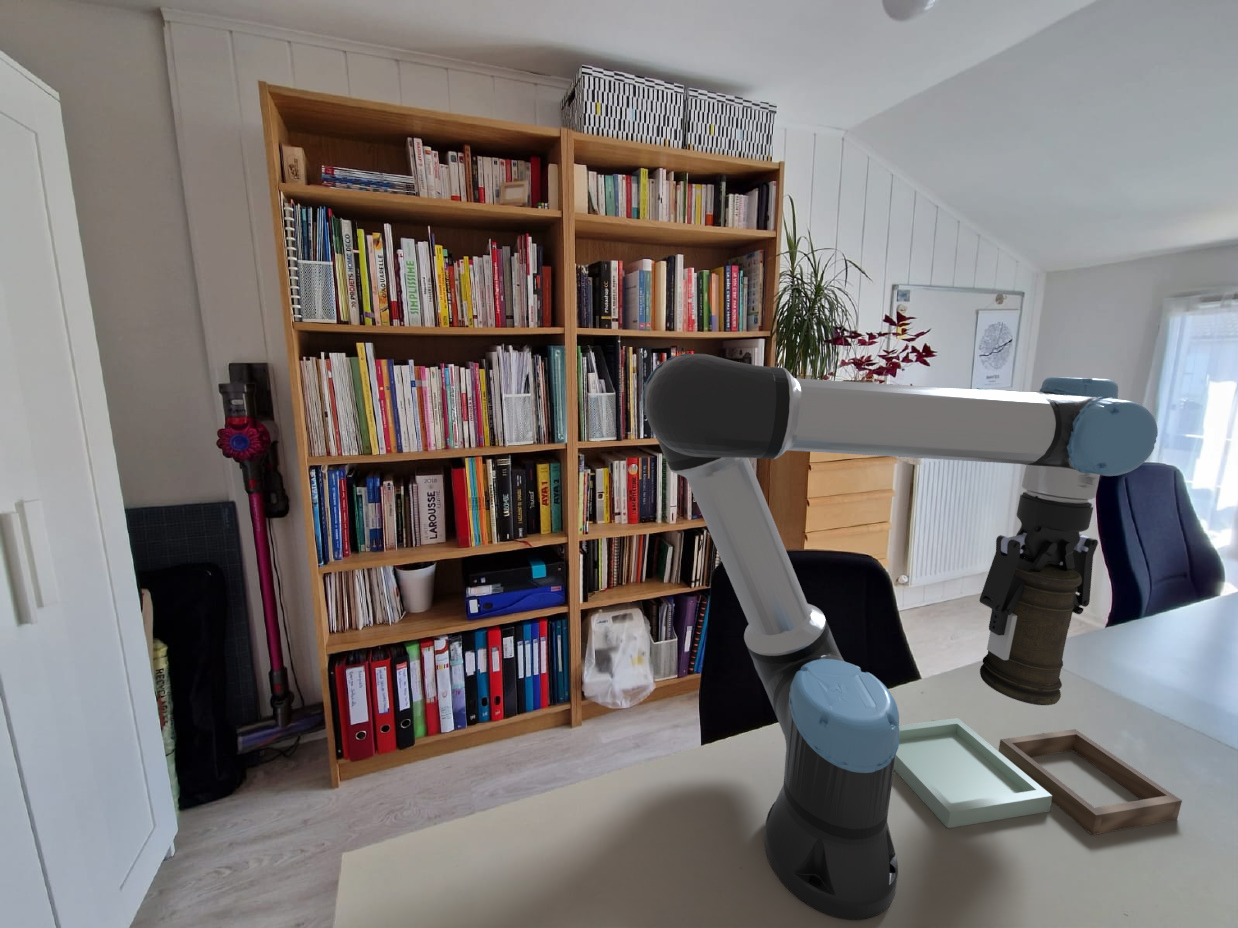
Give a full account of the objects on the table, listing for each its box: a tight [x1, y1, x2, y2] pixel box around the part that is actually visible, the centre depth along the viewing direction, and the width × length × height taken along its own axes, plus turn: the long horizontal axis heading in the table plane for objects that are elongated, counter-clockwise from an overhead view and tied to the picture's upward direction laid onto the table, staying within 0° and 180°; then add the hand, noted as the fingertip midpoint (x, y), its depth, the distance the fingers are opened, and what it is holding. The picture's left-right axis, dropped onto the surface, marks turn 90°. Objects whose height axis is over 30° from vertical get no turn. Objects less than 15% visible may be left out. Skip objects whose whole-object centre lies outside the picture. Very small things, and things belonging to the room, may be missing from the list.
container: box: [979, 557, 1082, 706], centre depth 72 cm, size 9×9×18 cm
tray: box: [894, 717, 1052, 829], centre depth 77 cm, size 16×16×2 cm
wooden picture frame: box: [998, 728, 1183, 836], centre depth 75 cm, size 14×14×3 cm
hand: (1023, 652), depth 73 cm, fingers closed on container, 8 cm apart
